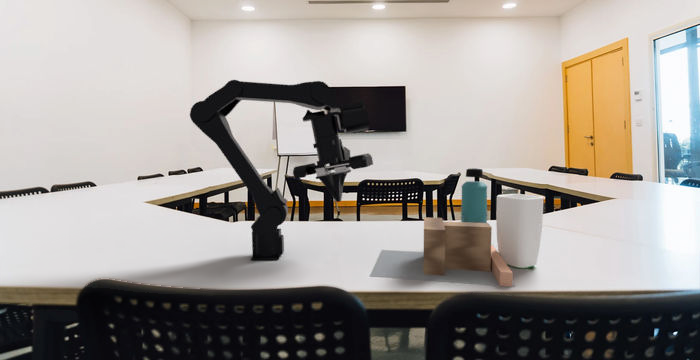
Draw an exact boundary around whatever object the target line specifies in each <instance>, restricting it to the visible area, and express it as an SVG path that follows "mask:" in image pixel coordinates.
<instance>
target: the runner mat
mask: <svg viewBox="0 0 700 360" xmlns="http://www.w3.org/2000/svg"><path fill="white" fill-rule="evenodd" d="M423 265H424V251H412V250H411V251H409V250H393V249H392V250H390V249H381V250H380V252H379V255H378V257H377V259H376V262H375V264H374V266H373V268H372V270H371V273H370V274H369V277H373V278H387V279H388V278H389V279H390V278H391V279H402V280H414V281H415V280H416V281H417V280H418V281H428V282H430V281H431V282H440V283H441V282H443V283H445V282H446V283H455V284H456V283H458V284H469V285H470V284H471V285H481V286H482V285H484V286H485V285H486V286H498V287H510V288H511V287H514V288H515V287H516V285H515V284H514V282H513V271H512V270H511V268H510V266H509V265H507V264H506V263H505V261H504V260H503V259H502V257H501V256H500V255H499V253H498V249H496V248H495V246H494V245H492V244H491V270H490V272H485V271H470V270H455V269H445V276H441V275H426V274H423Z"/></svg>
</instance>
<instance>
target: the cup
mask: <svg viewBox="0 0 700 360" xmlns="http://www.w3.org/2000/svg"><path fill="white" fill-rule="evenodd" d="M543 217H544V196H540V195H534V194H533V195H532V194H522V193H507V194H506V193H505V194H498V195H497V196H496V217H495V218H496V225H495V226H496V243H497V252H498V253H499V255H500V256H501V257H502V259H503V260H504V261H505V263H506V264H507V266H508V267H513V268H515V269H526V268H527V269H529V268H532V267H534V266H536V265H537V263H538V258H539V252H540V247H541V239H542V232H543V230H542V229H543V220H544V219H543Z"/></svg>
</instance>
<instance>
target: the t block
mask: <svg viewBox="0 0 700 360" xmlns="http://www.w3.org/2000/svg"><path fill="white" fill-rule="evenodd" d="M491 245H492V226H491V224H489V223H488V222H487V223H471V222H461V221H444V219H443V218H442V217H429V216H428V217H427V216H426V217H423V252H424V265H423V274H426V275H441V276H445V269H455V270H470V271H485V272H490V270H491Z"/></svg>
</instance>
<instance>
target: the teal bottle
mask: <svg viewBox="0 0 700 360" xmlns="http://www.w3.org/2000/svg"><path fill="white" fill-rule="evenodd" d="M465 177H466V178H483V177H484V174H483V168H473V167H472V168H467V169H466V171H465ZM460 208H461V209H460V211H461V212H460V215H461V216H460V220H461V221H460V222H471V223H488V219H489V218H488V215H489V213H488V186H487V184H486V183H485V182H484V181H476V180H475V181H469V180H468V181H467V180H466V181H465V182H464V183H463V184H462V185H461V207H460Z"/></svg>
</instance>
